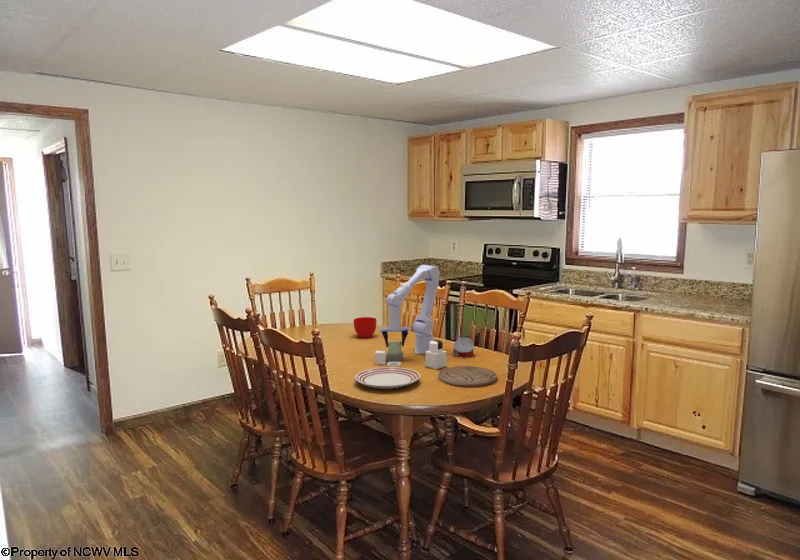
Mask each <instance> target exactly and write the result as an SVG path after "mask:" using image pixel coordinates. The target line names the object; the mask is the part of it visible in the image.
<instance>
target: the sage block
mask: <svg viewBox="0 0 800 560" xmlns="http://www.w3.org/2000/svg"><path fill="white" fill-rule="evenodd" d="M387 349H388V354H392V355H398V354H400V353H401V351H402V341H398V340H390V341H388V347H387Z"/></svg>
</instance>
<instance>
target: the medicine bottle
mask: <svg viewBox="0 0 800 560" xmlns="http://www.w3.org/2000/svg"><path fill="white" fill-rule="evenodd" d="M443 347H444V345H443V341H442V340H439V339H434V340H432V341H430V342H429V351H426V352H425V354H424V355H425V356H424V357H425V360H424V361H425V367H426V368H431V369H434V370H438V369H442V368H445V367H446V368H447V366H448V364H447V363H448V362H447V355H448V353H447V351H446V350H444V348H443Z"/></svg>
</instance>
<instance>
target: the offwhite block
mask: <svg viewBox="0 0 800 560" xmlns="http://www.w3.org/2000/svg"><path fill="white" fill-rule="evenodd" d="M386 355H387V351H386V350H375V352H374V358H375V359H374V360H375V361H374V363H375V364H374V365H377V366H378V365H379V364H380V366H381V364H382V365H383V366H385V365H386Z"/></svg>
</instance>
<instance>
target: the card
mask: <svg viewBox="0 0 800 560" xmlns="http://www.w3.org/2000/svg"><path fill="white" fill-rule="evenodd" d="M401 364H402V361H387V367H401Z"/></svg>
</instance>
